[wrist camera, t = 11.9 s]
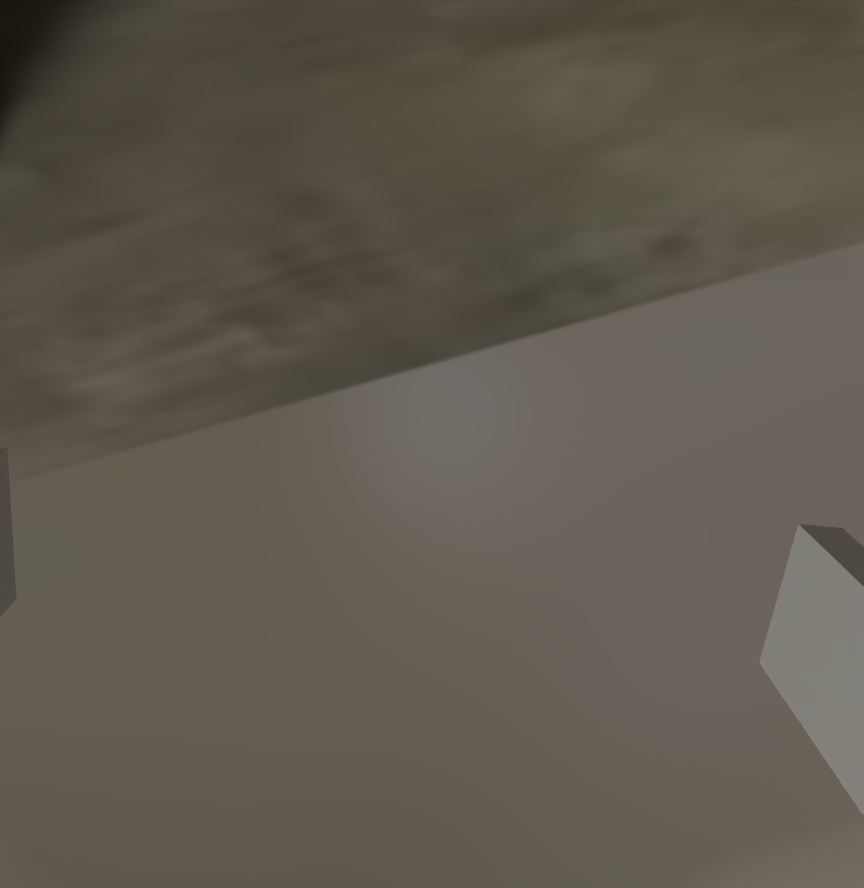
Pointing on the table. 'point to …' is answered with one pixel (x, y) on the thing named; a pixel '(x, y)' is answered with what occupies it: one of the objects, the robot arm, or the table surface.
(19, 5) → the table surface
